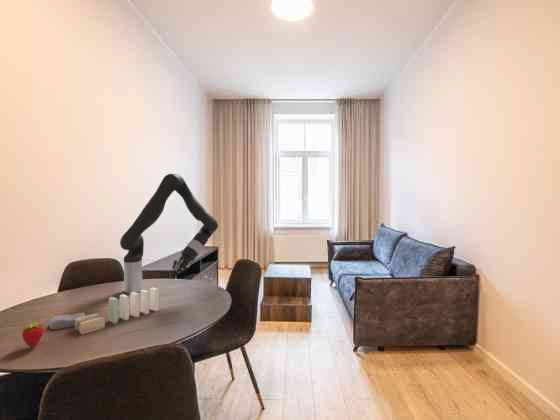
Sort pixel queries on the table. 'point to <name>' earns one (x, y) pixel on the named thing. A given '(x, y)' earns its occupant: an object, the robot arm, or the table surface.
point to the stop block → (89, 323)
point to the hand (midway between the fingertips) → (171, 278)
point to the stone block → (65, 320)
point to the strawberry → (32, 334)
